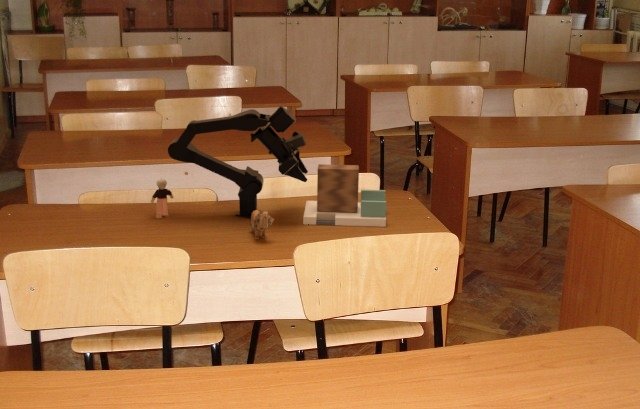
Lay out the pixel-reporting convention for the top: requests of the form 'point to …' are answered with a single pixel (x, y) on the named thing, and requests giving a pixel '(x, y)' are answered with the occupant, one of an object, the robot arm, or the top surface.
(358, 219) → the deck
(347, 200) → the walnut block
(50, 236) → the top surface
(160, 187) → the grandmother figurine
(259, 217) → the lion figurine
